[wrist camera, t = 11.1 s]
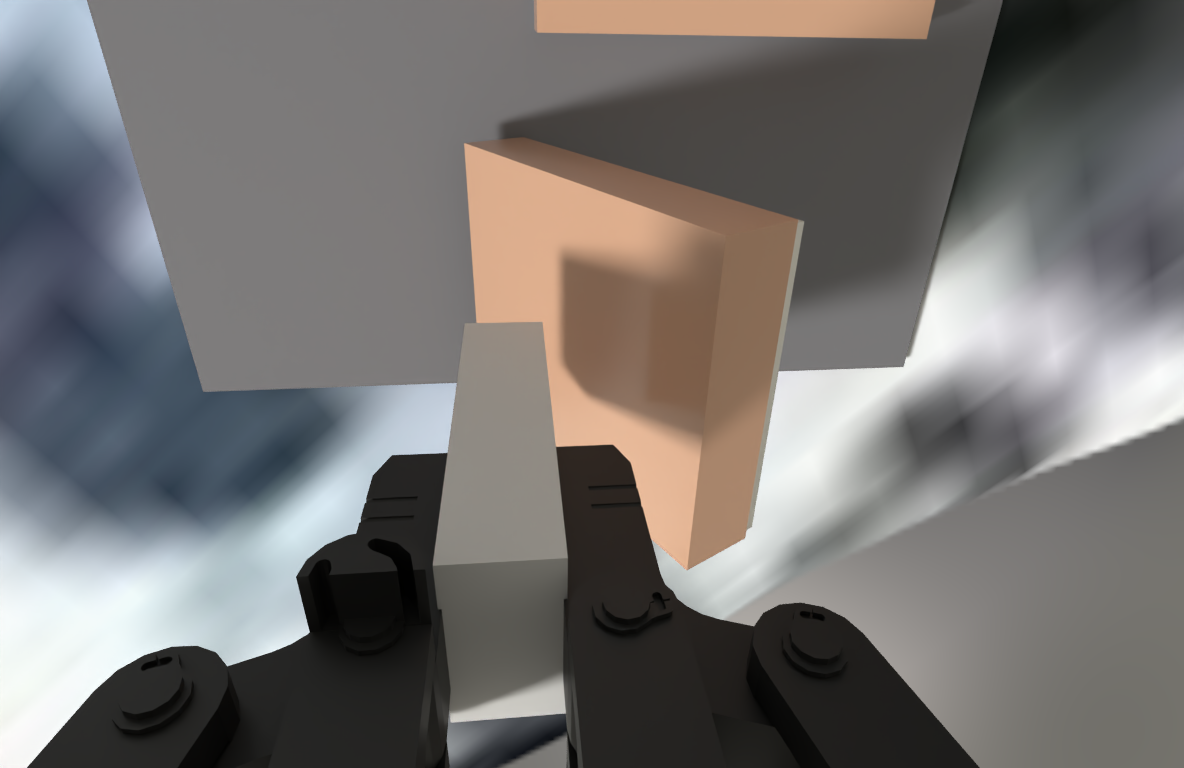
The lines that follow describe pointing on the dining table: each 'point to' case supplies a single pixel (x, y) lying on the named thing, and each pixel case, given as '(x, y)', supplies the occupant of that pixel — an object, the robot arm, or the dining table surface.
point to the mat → (501, 111)
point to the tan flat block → (642, 322)
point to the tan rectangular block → (738, 17)
